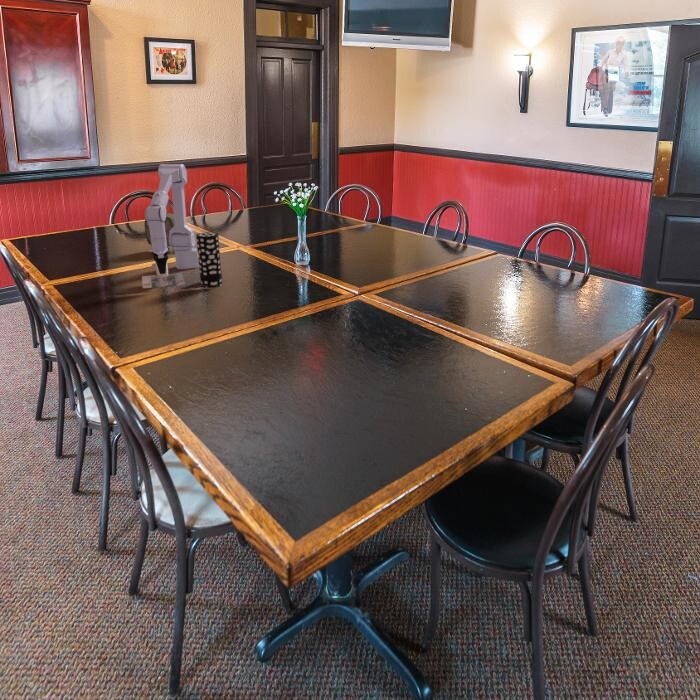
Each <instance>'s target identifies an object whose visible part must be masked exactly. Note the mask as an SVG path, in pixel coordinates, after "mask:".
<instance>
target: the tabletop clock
mask: <svg viewBox="0 0 700 700" xmlns="http://www.w3.org/2000/svg"><path fill="white" fill-rule="evenodd" d="M168 203H169V202H168ZM168 203H167V206H168ZM164 224H165V233H166V242H167V248H168V250H169V251H170V247H171V246H170V244H169V232H170V230H171V229H172V228H173V227H174V226H175V223H174V213H170V212H169V213H168V211H167V210H166V219H165V221H164ZM144 233H145V234H144V235H145V239H146V242H147V243H148V245H150V246H152V245H151V237H150V229H149V226H148V224H147V220H146V218H145V217H144ZM172 253H173V254H175V250H173V249H172Z"/></svg>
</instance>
